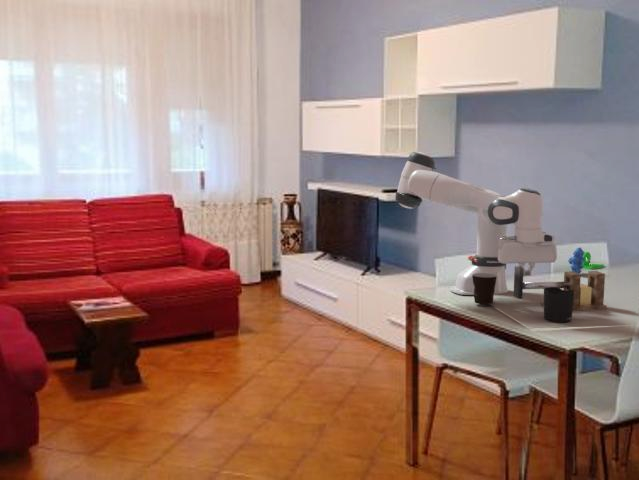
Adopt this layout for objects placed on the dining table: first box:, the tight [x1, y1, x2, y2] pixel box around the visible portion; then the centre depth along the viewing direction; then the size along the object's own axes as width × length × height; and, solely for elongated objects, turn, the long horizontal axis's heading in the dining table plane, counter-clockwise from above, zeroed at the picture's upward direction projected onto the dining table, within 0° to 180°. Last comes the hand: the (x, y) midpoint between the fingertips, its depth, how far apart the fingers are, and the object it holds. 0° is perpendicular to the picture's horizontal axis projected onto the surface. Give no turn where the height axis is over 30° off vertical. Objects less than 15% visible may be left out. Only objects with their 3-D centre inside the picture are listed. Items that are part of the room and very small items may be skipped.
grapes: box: [567, 247, 585, 274], centre depth 316 cm, size 12×7×12 cm, turn 142°
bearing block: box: [540, 270, 608, 311], centre depth 253 cm, size 20×9×12 cm, turn 97°
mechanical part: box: [582, 251, 604, 271], centre depth 332 cm, size 12×6×8 cm, turn 127°
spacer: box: [579, 283, 592, 306], centre depth 253 cm, size 4×6×6 cm, turn 7°
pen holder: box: [543, 287, 574, 324], centre depth 234 cm, size 9×9×10 cm
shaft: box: [513, 265, 570, 300], centre depth 251 cm, size 20×5×10 cm, turn 97°
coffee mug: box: [472, 273, 497, 305], centre depth 261 cm, size 12×9×10 cm
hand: (526, 275), depth 249 cm, fingers closed
